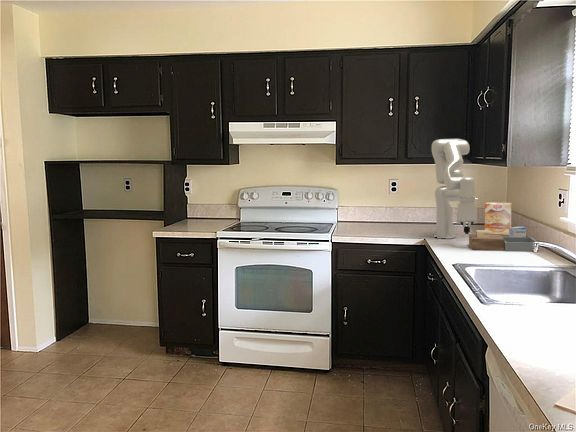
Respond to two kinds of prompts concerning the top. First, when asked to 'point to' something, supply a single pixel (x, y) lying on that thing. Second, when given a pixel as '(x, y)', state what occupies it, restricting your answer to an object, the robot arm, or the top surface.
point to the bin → (518, 243)
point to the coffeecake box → (498, 218)
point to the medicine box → (517, 231)
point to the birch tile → (482, 233)
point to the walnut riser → (487, 242)
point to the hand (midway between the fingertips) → (466, 233)
